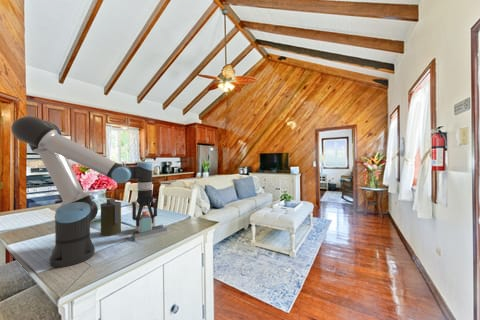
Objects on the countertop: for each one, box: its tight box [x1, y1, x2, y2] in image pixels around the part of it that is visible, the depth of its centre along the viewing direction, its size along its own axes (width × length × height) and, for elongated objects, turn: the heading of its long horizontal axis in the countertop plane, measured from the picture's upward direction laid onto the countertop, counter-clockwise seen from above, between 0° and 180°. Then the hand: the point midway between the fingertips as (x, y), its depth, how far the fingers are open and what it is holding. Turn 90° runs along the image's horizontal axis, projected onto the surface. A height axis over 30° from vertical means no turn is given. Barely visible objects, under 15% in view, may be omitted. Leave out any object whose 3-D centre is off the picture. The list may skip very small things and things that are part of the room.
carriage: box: [140, 215, 151, 233], centre depth 111 cm, size 5×5×10 cm
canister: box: [99, 198, 122, 237], centre depth 116 cm, size 11×10×20 cm
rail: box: [131, 224, 168, 242], centre depth 113 cm, size 17×7×3 cm, turn 130°
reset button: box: [141, 210, 149, 216], centre depth 122 cm, size 4×4×4 cm
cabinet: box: [135, 213, 156, 230], centre depth 122 cm, size 9×9×9 cm
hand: (145, 230), depth 111 cm, fingers closed on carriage, 5 cm apart
